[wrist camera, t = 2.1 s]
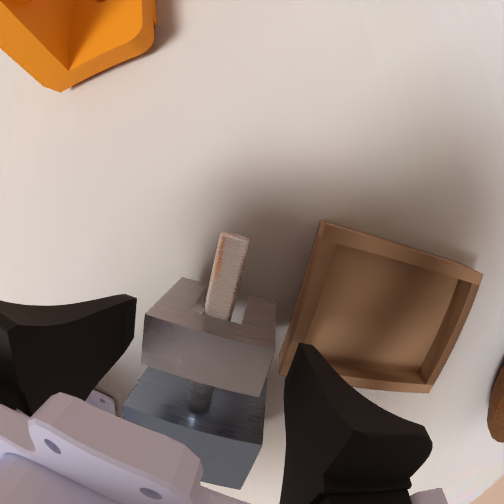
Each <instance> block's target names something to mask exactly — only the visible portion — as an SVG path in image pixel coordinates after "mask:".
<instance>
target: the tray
mask: <svg viewBox="0 0 504 504" xmlns="http://www.w3.org/2000/svg"><path fill="white" fill-rule="evenodd" d="M482 277H483V274H482V273H480V272H478V271H475V270H473V269H471V268H469V267H467V266H465V265H462V264H459V263H456V262H453V261H451V260H448V259H445V258H442V257H439V256H436V255H433V254H430V253H427V252H424V251H421V250H418V249H415V248H411V247H408V246H405V245H402V244H399V243H396V242H392V241H389V240H386V239H383V238H379V237H376V236H373V235H369V234H366V233H363V232H359V231H356V230H352V229H349V228H345V227H342V226H338V225H335V224H331V223H328V222H324V221H321V220H320V223H319V227H318V231H317V234H316V238H315V242H314V245H313V249H312V252H311V256H310V259H309V263H308V266H307V269H306V273H305V276H304V280H303V283H302V286H301V289H300V293H299V296H298V299H297V302H296V305H295V309H294V312H293V315H292V318H291V321H290V324H289V327H288V330H287V333H286V336H285V339H284V342H283V345H282V348H281V351H280V354H279V375H283V376H287V373H288V371H289V368H290V366H291V363H292V360H293V358H294V355H295V352H296V349H297V347H298V344H299V342H300V343H305V344H310V345H313V346H314V347H315V348H316V349H317V350H318V351H319V352H320V354H321V355H322V356H323V357H324V358H325V359H326V361H327V362H328V363H329V364H330V365H331V366H332V368H333V369H334V370H335V371H336V372H337V373H338V374H339V375H340V376H341V377H342V378H343V379H344V380H345V381H346V382H347V383H348V384H349V385H350V386H351V387H357V388H366V389H375V390H385V391H397V392H412V393H429V392H430V390H431V388H432V387H433V385H434V383H435V381H436V380H437V378H438V376H439V374H440V373H441V371H442V369H443V367H444V365H445V363H446V361H447V360H448V358H449V356H450V354H451V352H452V350H453V348H454V346H455V344H456V341H457V339H458V337H459V335H460V333H461V331H462V328H463V326H464V324H465V322H466V319H467V317H468V314H469V312H470V309H471V307H472V304H473V302H474V299H475V297H476V294H477V291H478V288H479V286H480V283H481V280H482Z"/></svg>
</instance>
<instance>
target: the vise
mask: <svg viewBox="0 0 504 504" xmlns="http://www.w3.org/2000/svg"><path fill="white" fill-rule="evenodd" d="M249 242H250V239H248V238H246V237H244V236H241V235H237V234H233V233H226V232H222V233H220V235H219V240H218V245H217V249H216V254H215V258H214V263H213V268H212V273H211V277H210V282H209V287H208V292H207V297H206V302H205V307H204V312H203V314H204V315H208V316H211V317H215V318H219V319H222V320H226V321H231V316H232V312H233V308H234V304H235V300H236V296H237V291H238V287H239V283H240V279H241V275H242V271H243V267H244V262H245V258H246V254H247V250H248V246H249ZM266 381H267V376H266V379H265V381H264V384H263V387H262V390H261V393H260V396H259V397H255V396H251V395H246V394H242V393H238V392H233V391H229V390H225V389H222V388H218V387H214V386H210V385H207V384H203V383H200V382H196V381H193V380H189V379H186V378H183V377H180V376H176V375H173V374H170V373H167V372H164V371H161V370H158V369H155V368H152V367H150V366H149V367H148V368H147V370H146V371H145V373H144V374H143V376H142V377H141V379H140V380H139V382H138V383H137V384H136V386H135V387H134V389H133V390H132V392H131V393H130V395H129V396H128V398H127V399H126V401H125V402H124V404H123V419H124V420H127V421H129V422H132V423H134V424H137V425H139V426H142V427H144V428H147V429H150V430H152V431H155V432H158V433H161V434H164V435H166V436H168V437H170V438H172V439H174V440H176V441H178V442H180V443H183V444H184V445H185V446H186V447H188V448H189V449H190V450H191V451H192V452H193V453H194V454H195V455H196V456H197V457H199V458H200V461H201V464H202V468H203V474H202V477H201V481H202V482H206V483H210V484H215V485H219V486H224V487H229V488H234V489H239V490H240V489H241V487H242V485H243V484H244V482H245V480H246V478H247V476H248V474H249V472H250V470H251V468H252V466H253V464H254V462H255V459H256V457H257V455H258V453H259V451H260V449H261V447H262V442H263V428H264V413H265V397H266Z"/></svg>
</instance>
